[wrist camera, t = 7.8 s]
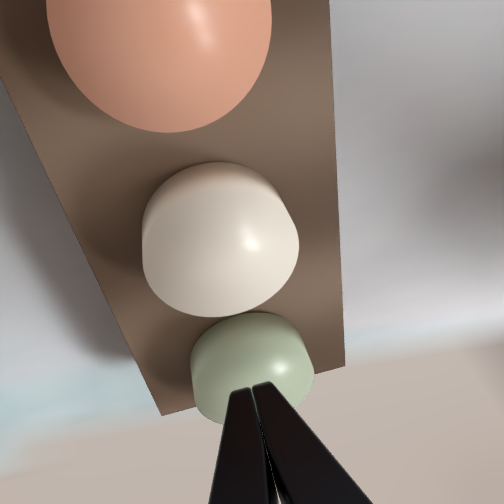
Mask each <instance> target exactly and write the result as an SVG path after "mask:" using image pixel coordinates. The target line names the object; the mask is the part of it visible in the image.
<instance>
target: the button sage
mask: <svg viewBox="0 0 504 504" xmlns="http://www.w3.org/2000/svg"><path fill="white" fill-rule="evenodd" d="M190 367H191V375H192V383H193V391H194V399H195V403H196V406H197V408H198V410H199V411H200V412H201V413H202V414H203V415H204V416H205V417H206V418H208V419H210V420H212V421H214V422H216V423H219V424H223V425H224V420H225V415H226V410H227V405H228V400H229V395H230V393H231V392H232V391H234V390H237V389H241V388H245V387H250V388H252V386H253V385H256V384H259V383H263V382H267V381H270V382H272V383H273V384H274V385H275V386H276V387H277V389H278V390H279V391H280V392H281V393H282V395H283V396H284V397H285V398H286V399H287V401H288V402H289V403H290V404H291V405H292V407H293V408H295V407H296V406H297V405H298V404H300V403H301V402H302V401H303V400H304V398H305V397H306V396H307V395H308V393H309V392H310V390H311V388H312V385H313V382H314V369H313V366H312V363H311V361H310V358H309V356H308V353H307V351H306V348H305V346H304V343H303V341H302V338H301V336H300V333H299V331H298V330H297V328H296V327H295V326H294V325H293V324H292V323H291V322H290V321H288V320H287V319H285V318H283V317H280V316H277V315H274V314H269V313H246V314H241V315H237V316H233V317H230V318H228V319H225V320H223V321H221V322H219V323H217V324H215V325H214V326H212V327H211V328H209V329H208V330H207V331H206V332H205V333H203V335H202V336H201V337H200V338H199V339H198V340H197V342H196V343H195V345H194V347H193V349H192V352H191V356H190ZM251 391H252V389H251ZM252 395H253V394H252ZM253 399H254V398H253ZM258 418H259V417H258ZM259 422H260V421H259Z"/></svg>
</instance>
